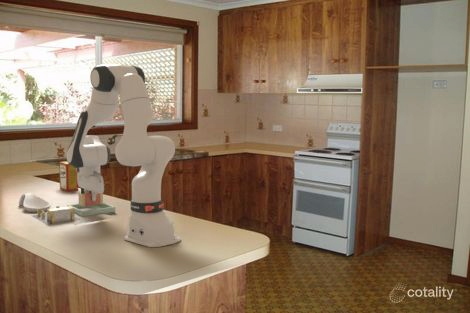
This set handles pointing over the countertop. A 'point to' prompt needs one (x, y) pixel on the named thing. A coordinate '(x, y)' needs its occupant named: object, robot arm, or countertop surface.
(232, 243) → the countertop surface
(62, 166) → the baking soda box
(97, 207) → the tray
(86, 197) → the fuse
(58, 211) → the fuse holder
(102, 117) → the robot arm
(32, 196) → the spoon rest
